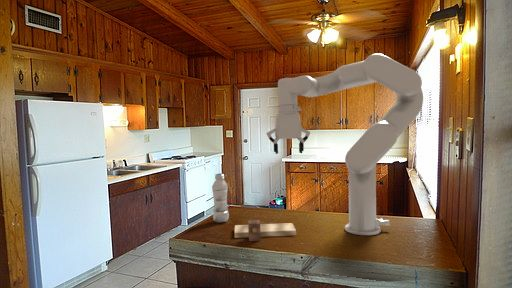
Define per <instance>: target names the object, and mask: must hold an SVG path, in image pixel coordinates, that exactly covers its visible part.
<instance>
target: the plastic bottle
mask: <svg viewBox="0 0 512 288" xmlns="http://www.w3.org/2000/svg"><path fill="white" fill-rule="evenodd" d="M214 175H215V176H214V177H215V178H214V180H215V181H213V184H212V187H211V189H212V195H213V213H212V215H213V216H212V218H213V221H214V222H216V223H225V222H228V220H229V218H230V214H229V208H228V191H229V190H228V188H229V187H228V183H227V181H226V180H224V179H225V174H224V173H215V174H214Z"/></svg>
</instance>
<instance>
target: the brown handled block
mask: <svg viewBox="0 0 512 288" xmlns="http://www.w3.org/2000/svg"><path fill="white" fill-rule="evenodd" d="M247 222H248V223H247V225H249V237H248V241H249V242H258V241H259V242H260V241H262V237H261V230H260V224H261V221H260V219H255V220H254V219H251V220H248V221H247Z"/></svg>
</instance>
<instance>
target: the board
mask: <svg viewBox="0 0 512 288" xmlns="http://www.w3.org/2000/svg"><path fill="white" fill-rule="evenodd" d="M295 227H296V226H295V225H294V223H292V222H291V223H290V222H288V223H286V222H285V223H262V224H261V223H260V230H261V238H262V237H263V238H264V237H288V236H297V230H296V228H295ZM234 238H235V239H236V238H237V239H239V238H240V239H241V238H249V225H248V224H236V225H234Z"/></svg>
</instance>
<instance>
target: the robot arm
mask: <svg viewBox="0 0 512 288" xmlns="http://www.w3.org/2000/svg"><path fill="white" fill-rule="evenodd" d="M277 81H278V82H277V98H278V99H277V104H278V105H277V106H278V113H276V115H275V122H274V123H275V126H274V128H272V129H271V130H269V131H267V132H266V136H267V138H268V140H269V141H270V142H272V144H273V153H275V155H277V154H279V144H278V142H279V141H280V140H283V139H285V140H286V139H289V140H290V139H292V140H293V139H297V140H298V141H299V143H298V153H300V154H303V152H304V149H305V147H304V143H305V142H306V141H307V140H308V138H309V136H310V135H311V131H310V130H307V129H305V128H303V127H302V124H301V116H300V115H301V114H300V113H299V111H302V107H301V106H298V96H303V97H307V98H314V97H316V98H317V97H320V96H325V95H330V94H333V93H336V92H340V91H344V90H347V89H348V90H349V89H353V88H356V87H360V86H365V85H369V84H370V85H371V84H373V83H378V84H380V85H381V86H384V87H385V88H387V89H389V90H390V91H392V92H394V94H395V95H396V100H395V102H394V104H393V105H392V106H391V107H390V108H389V109H388V110H387V112H386V113H385V114H384V115H383V116H382V117H381V118H380V119H379V120H378V121H377V122H375V123H373V124H372V125H371V126H370V127H369V128H367V130H366V131H365V132H364V133H363V135H361V136H360V138H359V139H358V140H357V141H356V142H355V143H354V144H353V145H352V147H350V148H349V150H348V151H347V152H346V155H345V158H344V160H345V161H344V162H345V166H346V167H347V169H348V223H346V224H345V225H344V230H345V231H346V232H347V233H350V234H353V235H357V236H359V235H360V236H374V235H375V236H376V235H379V234H380V233H381V232H382V231H381V230H382V229H381V227H382V226H390V219H383V218H378V217H377V164H378V162H379V161H381V160H382V158H383V157H384V156H385V155H386V154H387V153H388V152H389V151H390V150H391V149H393V147H394V146H395V144H396V143H397V140H398V138H399V137H400V136H401V135H402V134H403V133H404V131H406V129H408V127H409V126H410V125H411V124H412V123H413V121H415V119H416V118H417V117H418V115H419V114H420V113H421V110H422V107H423V103H424V95H423V94H424V93H423V89H422V84H423V80H422V78H421V75H420V74H419V73H418V72H417V71H416V70H414V69H412V68H410V67H408V66H406V65H404V64H402V63H400V62H398V61H396V60H394V59H392V58H391V57H389V56H387V55H384V54H383V53H373V54H370V55H368V56H367V57H366V58H365V60H362V61H358V62H357V61H356V62H353V63H349V64H344V65H341V66H339V67H338V68H336V69H335V70H334V71H332V72H330V73H329V74H326V75H325V74H324V75H321V76H318V77H317V76H316V77H311V76H310V75H300V76H296V77H284V78H280V79H278V80H277ZM302 132H303V133H304V134H305V135H304V137H302ZM272 134H274V137H275V138H273V136H272Z"/></svg>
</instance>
